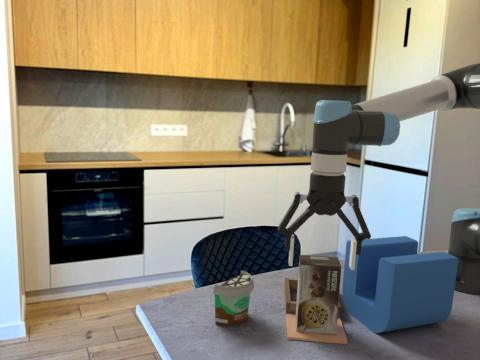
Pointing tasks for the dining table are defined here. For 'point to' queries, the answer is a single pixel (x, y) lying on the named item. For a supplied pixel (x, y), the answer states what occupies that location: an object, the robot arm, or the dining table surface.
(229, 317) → the food container
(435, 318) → the block
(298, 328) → the coffee box
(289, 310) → the walnut frame
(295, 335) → the terracotta tile
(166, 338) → the dining table surface
